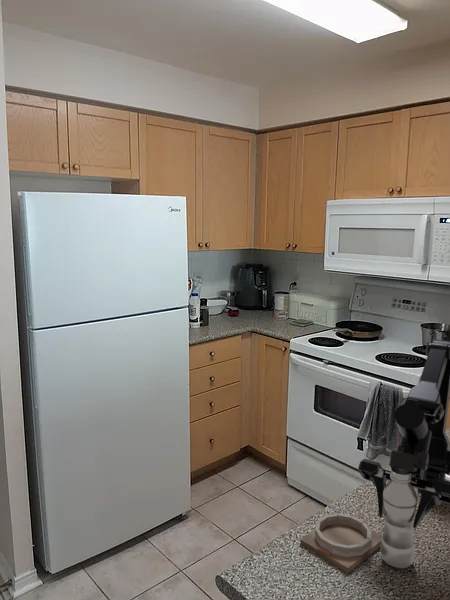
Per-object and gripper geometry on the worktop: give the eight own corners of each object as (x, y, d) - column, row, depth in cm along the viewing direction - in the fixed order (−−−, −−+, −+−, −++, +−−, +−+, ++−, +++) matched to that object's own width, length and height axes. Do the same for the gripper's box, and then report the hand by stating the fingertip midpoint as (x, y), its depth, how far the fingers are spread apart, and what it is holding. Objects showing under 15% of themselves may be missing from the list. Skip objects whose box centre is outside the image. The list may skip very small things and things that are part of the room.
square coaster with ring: (338, 517, 113) (338, 505, 112) (384, 542, 104) (385, 528, 103) (300, 544, 103) (300, 530, 103) (347, 573, 94) (348, 558, 94)
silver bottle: (383, 547, 102) (386, 459, 99) (416, 558, 99) (421, 467, 96) (376, 566, 96) (379, 473, 93) (411, 577, 93) (416, 482, 90)
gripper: (362, 423, 102) (342, 494, 95) (458, 444, 91) (443, 527, 84) (372, 444, 110) (354, 511, 102) (462, 466, 99) (449, 543, 92)
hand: (397, 522), depth 95 cm, fingers closed on silver bottle, 6 cm apart
